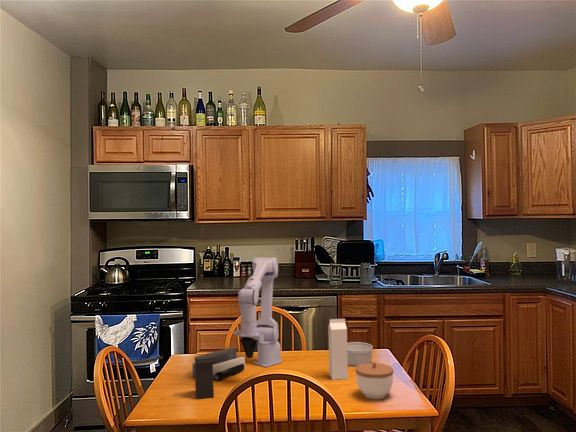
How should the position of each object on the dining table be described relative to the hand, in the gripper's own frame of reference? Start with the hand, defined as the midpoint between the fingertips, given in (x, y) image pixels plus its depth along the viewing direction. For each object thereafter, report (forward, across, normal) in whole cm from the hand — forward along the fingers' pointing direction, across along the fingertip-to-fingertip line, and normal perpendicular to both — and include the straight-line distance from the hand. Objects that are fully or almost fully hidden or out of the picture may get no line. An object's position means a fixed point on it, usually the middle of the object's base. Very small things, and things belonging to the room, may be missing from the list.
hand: (249, 357), depth 184 cm
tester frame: (+9, -18, -1) cm, 20 cm away
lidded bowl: (+9, +42, +20) cm, 47 cm away
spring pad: (+9, -15, -1) cm, 17 cm away
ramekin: (+9, +15, +45) cm, 48 cm away
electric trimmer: (+10, -12, -1) cm, 15 cm away
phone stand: (+9, -2, -19) cm, 21 cm away
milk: (+9, +21, +26) cm, 35 cm away
